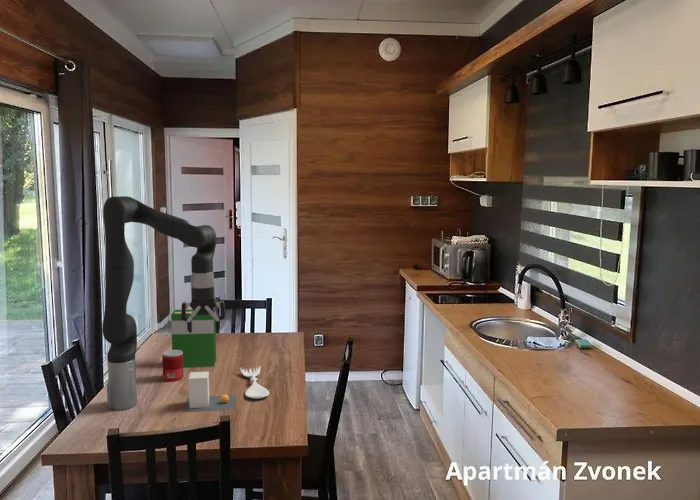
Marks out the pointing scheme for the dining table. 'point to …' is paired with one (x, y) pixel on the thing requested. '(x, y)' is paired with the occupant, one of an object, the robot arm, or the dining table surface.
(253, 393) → the white piece
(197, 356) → the hardback book
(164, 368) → the canned food
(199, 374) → the white rectangular block
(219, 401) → the mat
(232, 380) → the dining table surface
